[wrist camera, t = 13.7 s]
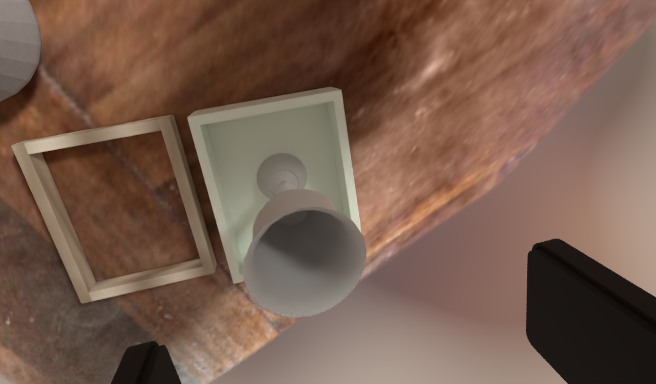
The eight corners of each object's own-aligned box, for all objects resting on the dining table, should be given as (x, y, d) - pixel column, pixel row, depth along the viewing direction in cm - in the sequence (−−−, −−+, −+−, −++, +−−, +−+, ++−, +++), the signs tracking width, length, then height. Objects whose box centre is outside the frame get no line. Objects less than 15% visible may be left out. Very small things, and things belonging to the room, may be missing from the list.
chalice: (279, 223, 40) (300, 338, 23) (231, 179, 38) (215, 271, 21) (330, 176, 40) (389, 258, 23) (285, 128, 37) (313, 180, 20)
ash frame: (173, 114, 36) (169, 117, 34) (216, 263, 41) (215, 272, 39) (24, 140, 34) (10, 145, 32) (89, 292, 40) (81, 303, 38)
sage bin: (330, 86, 38) (341, 89, 33) (351, 232, 43) (364, 253, 38) (195, 110, 36) (187, 117, 31) (235, 259, 41) (233, 283, 37)
